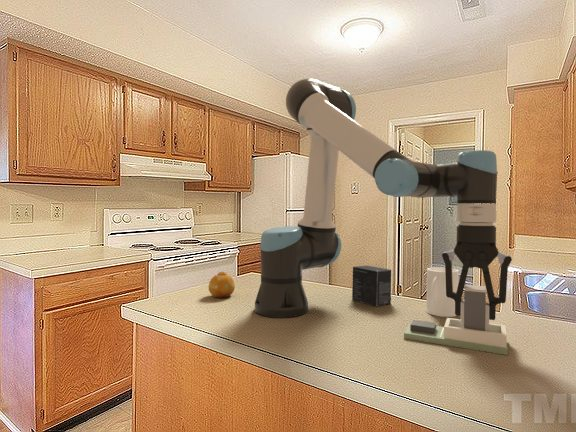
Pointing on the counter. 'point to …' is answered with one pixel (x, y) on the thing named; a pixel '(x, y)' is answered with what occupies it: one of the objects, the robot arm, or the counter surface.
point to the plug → (474, 307)
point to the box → (371, 285)
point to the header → (476, 333)
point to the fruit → (221, 285)
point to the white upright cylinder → (440, 292)
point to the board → (436, 334)
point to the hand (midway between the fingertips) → (474, 332)
